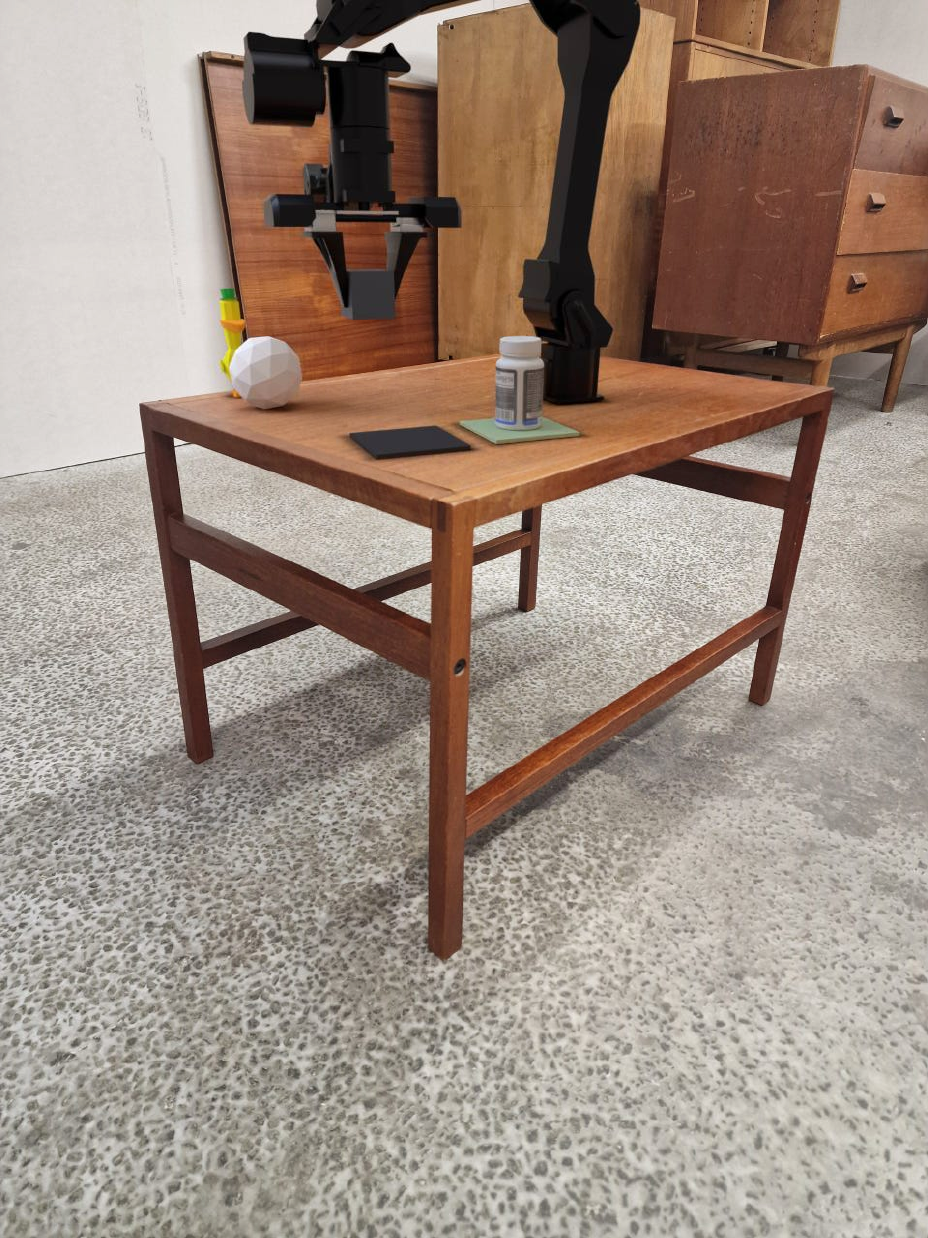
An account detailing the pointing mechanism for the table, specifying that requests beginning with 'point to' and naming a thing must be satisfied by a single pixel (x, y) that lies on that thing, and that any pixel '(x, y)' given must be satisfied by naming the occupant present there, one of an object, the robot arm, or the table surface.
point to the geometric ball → (265, 372)
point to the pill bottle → (519, 384)
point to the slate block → (370, 294)
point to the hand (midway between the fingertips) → (368, 306)
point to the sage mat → (518, 431)
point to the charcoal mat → (408, 442)
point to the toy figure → (230, 329)
